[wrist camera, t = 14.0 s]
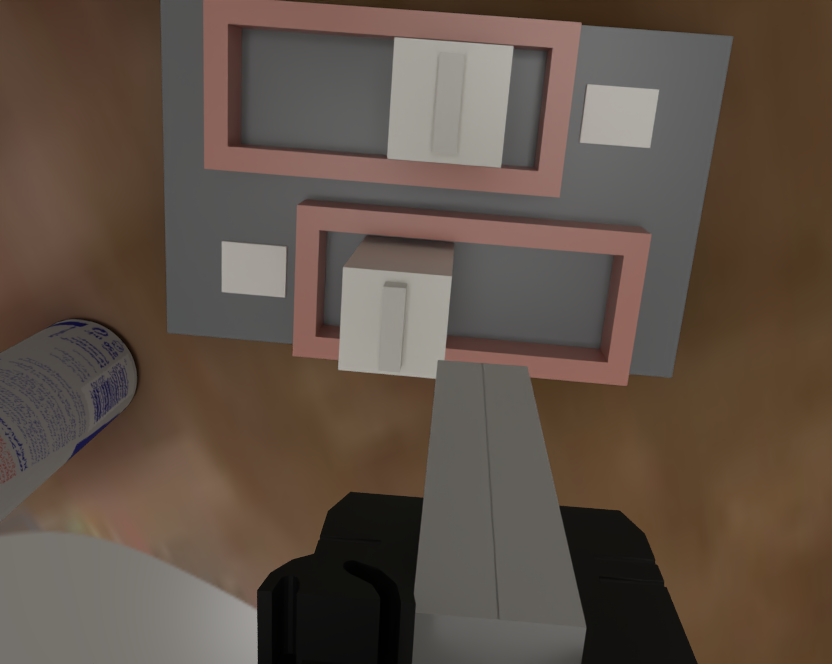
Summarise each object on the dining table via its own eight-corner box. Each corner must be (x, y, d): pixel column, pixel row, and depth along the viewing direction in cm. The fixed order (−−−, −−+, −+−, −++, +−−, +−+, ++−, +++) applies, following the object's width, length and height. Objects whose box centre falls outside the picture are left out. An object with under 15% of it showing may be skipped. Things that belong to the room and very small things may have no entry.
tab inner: (408, 50, 33) (392, 35, 25) (503, 57, 32) (515, 44, 25) (402, 147, 34) (384, 160, 26) (493, 154, 34) (502, 169, 26)
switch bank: (177, 0, 35) (141, -13, 31) (717, 40, 34) (750, 32, 30) (181, 321, 39) (150, 345, 35) (661, 363, 38) (683, 393, 34)
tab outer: (366, 235, 35) (339, 271, 27) (454, 243, 35) (451, 281, 27) (361, 320, 36) (334, 376, 29) (446, 327, 36) (442, 386, 28)
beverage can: (42, 303, 39) (-204, 419, 25) (149, 333, 39) (-33, 466, 25) (28, 402, 41) (-209, 565, 26) (131, 430, 41) (-49, 608, 26)
